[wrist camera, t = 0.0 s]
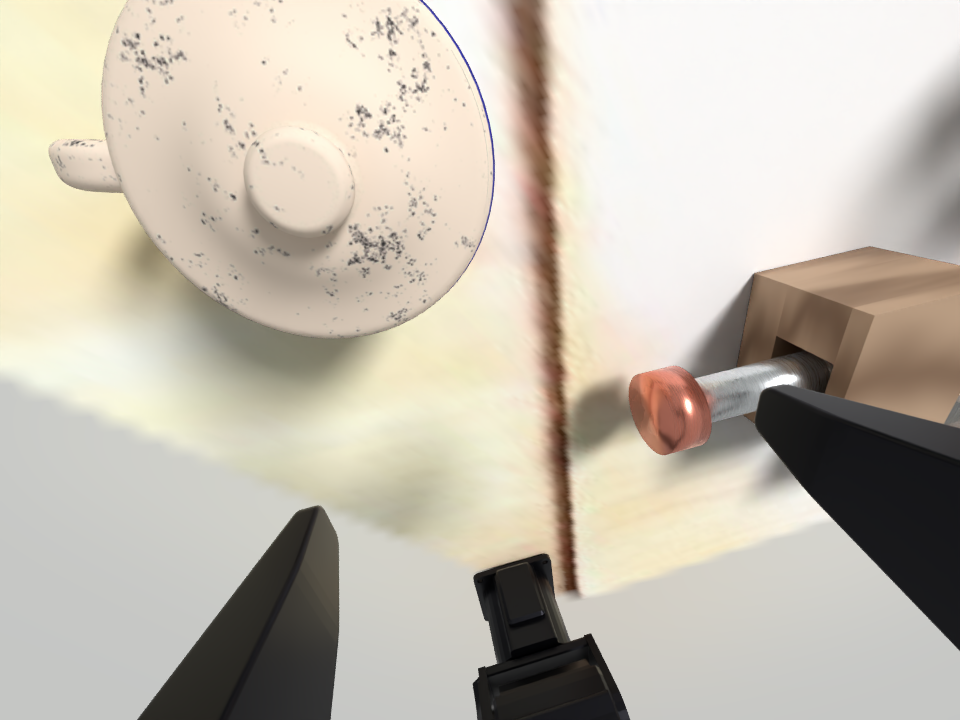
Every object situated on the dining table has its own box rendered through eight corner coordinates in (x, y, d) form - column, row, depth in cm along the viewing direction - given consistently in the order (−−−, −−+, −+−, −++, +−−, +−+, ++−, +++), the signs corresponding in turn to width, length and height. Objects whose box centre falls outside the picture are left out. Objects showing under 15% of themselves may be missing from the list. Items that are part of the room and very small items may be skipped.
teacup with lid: (453, 40, 16) (554, -127, 6) (453, 263, 21) (514, 377, 10) (114, 12, 14) (-576, -316, 4) (193, 268, 18) (-46, 420, 8)
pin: (824, 370, 27) (899, 409, 23) (627, 421, 26) (671, 472, 22) (844, 306, 25) (932, 338, 21) (629, 359, 23) (679, 404, 19)
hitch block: (826, 378, 30) (936, 438, 24) (729, 404, 29) (817, 472, 23) (870, 246, 25) (1021, 278, 19) (754, 272, 24) (874, 315, 18)
